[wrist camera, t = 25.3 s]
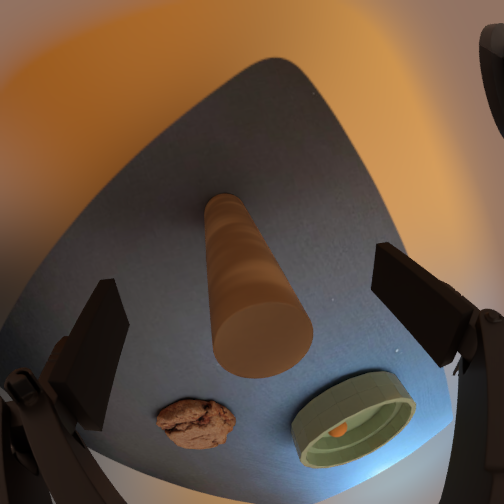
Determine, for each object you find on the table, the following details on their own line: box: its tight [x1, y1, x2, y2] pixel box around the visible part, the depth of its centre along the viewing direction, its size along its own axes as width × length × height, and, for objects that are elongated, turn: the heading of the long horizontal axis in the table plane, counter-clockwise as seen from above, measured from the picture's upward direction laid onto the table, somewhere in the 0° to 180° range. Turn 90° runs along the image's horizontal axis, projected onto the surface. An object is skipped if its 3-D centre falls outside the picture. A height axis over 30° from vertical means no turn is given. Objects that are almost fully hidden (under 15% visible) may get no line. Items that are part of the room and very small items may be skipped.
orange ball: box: [328, 422, 347, 437], centre depth 35 cm, size 3×3×3 cm
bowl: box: [291, 371, 416, 468], centre depth 34 cm, size 18×18×6 cm
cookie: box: [156, 399, 236, 449], centre depth 30 cm, size 10×11×3 cm
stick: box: [204, 193, 313, 378], centre depth 15 cm, size 3×3×15 cm
